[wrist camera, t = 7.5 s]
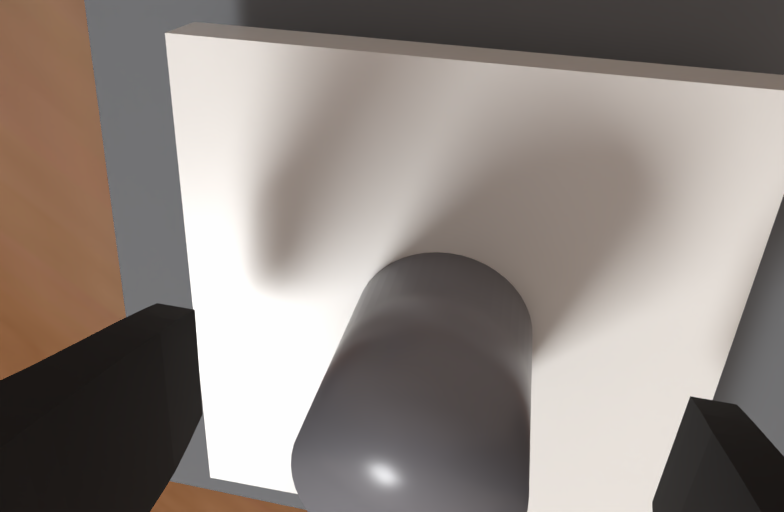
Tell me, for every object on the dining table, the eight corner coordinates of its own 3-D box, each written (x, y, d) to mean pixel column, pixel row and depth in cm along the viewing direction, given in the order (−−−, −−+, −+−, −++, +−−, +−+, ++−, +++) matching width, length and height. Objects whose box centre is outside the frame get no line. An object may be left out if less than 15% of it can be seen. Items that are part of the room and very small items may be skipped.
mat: (156, 462, 18) (147, 476, 18) (80, -166, 11) (61, -169, 11) (716, 578, 16) (721, 597, 16) (1021, -91, 9) (1045, -90, 9)
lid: (242, 419, 16) (121, 633, 11) (215, 13, 12) (3, 92, 7) (643, 491, 15) (690, 763, 10) (776, 63, 10) (962, 199, 6)
